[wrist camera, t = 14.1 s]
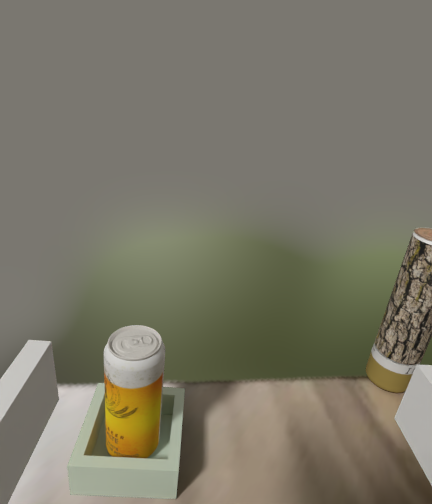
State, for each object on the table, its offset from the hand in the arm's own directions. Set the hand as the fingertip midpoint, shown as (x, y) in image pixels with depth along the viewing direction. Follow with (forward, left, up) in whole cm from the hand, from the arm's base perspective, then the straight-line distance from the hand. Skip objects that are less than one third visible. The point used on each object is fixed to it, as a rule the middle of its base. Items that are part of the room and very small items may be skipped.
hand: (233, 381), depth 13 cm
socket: (+7, -19, -30) cm, 36 cm away
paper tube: (-31, -34, -30) cm, 55 cm away
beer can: (+7, -19, -29) cm, 36 cm away
